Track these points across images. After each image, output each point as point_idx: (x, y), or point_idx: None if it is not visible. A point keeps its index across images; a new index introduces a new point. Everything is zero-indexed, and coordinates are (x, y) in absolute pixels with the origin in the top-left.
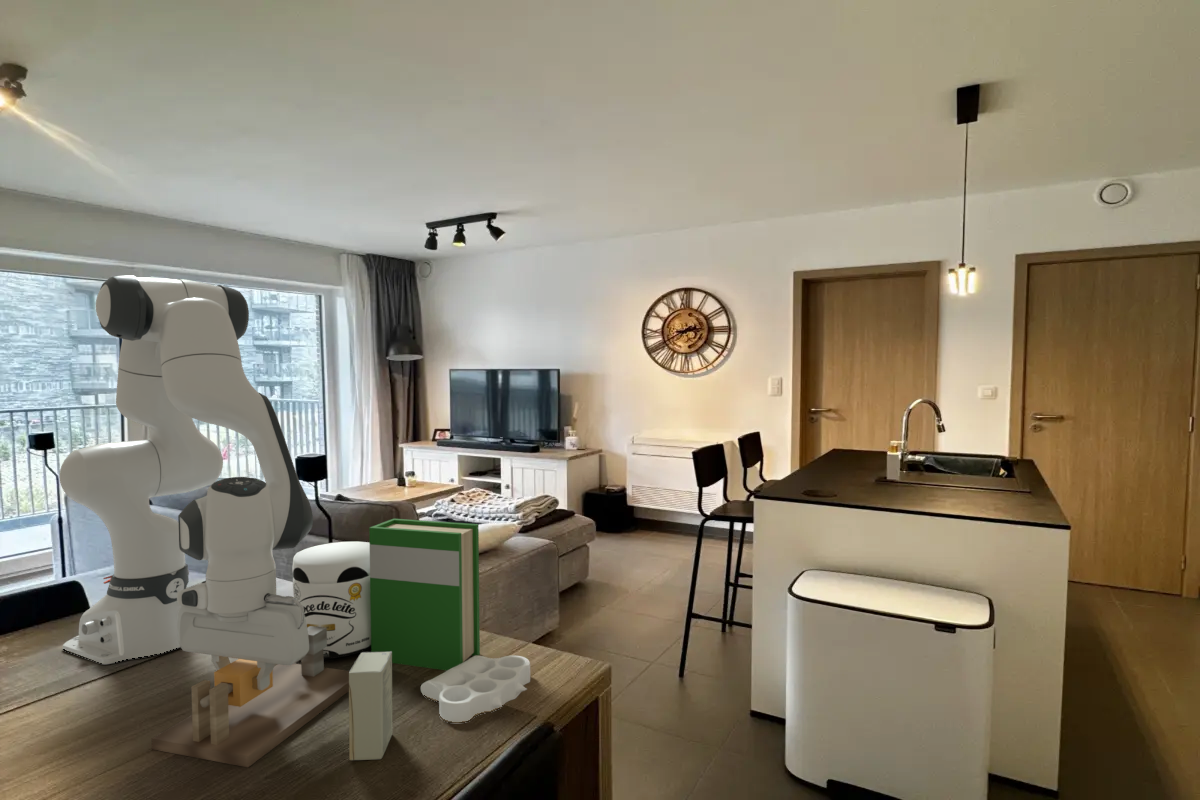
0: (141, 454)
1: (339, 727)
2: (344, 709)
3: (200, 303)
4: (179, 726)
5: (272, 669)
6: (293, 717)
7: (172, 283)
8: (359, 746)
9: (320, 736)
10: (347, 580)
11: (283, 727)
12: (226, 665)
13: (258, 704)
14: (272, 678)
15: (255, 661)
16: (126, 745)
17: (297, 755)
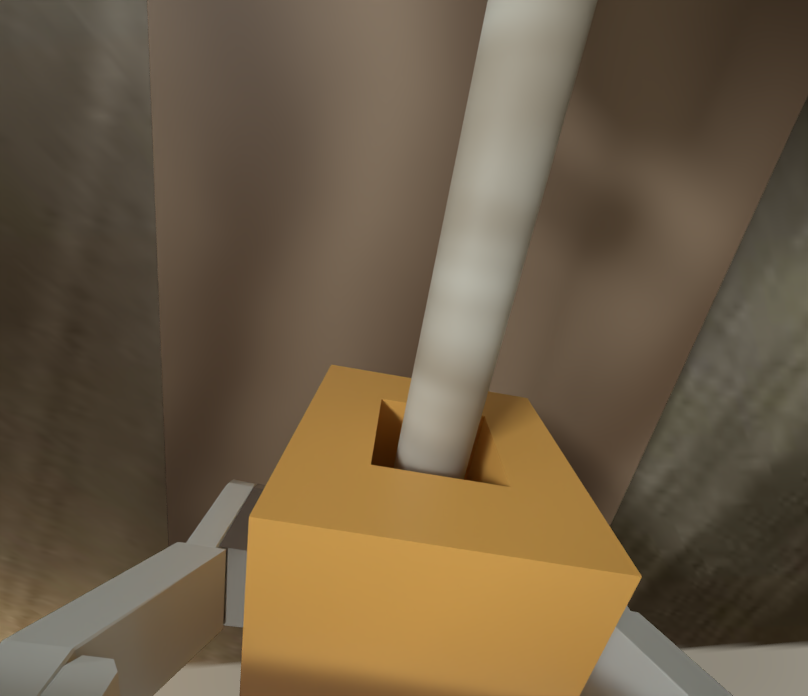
0: None
1: (796, 379)
2: (794, 236)
3: None
4: (196, 498)
5: (688, 660)
6: (629, 415)
7: None
8: None
9: (731, 437)
10: None
11: (615, 482)
12: (179, 619)
13: (401, 321)
14: (545, 428)
15: (484, 659)
16: (89, 518)
17: (682, 532)
